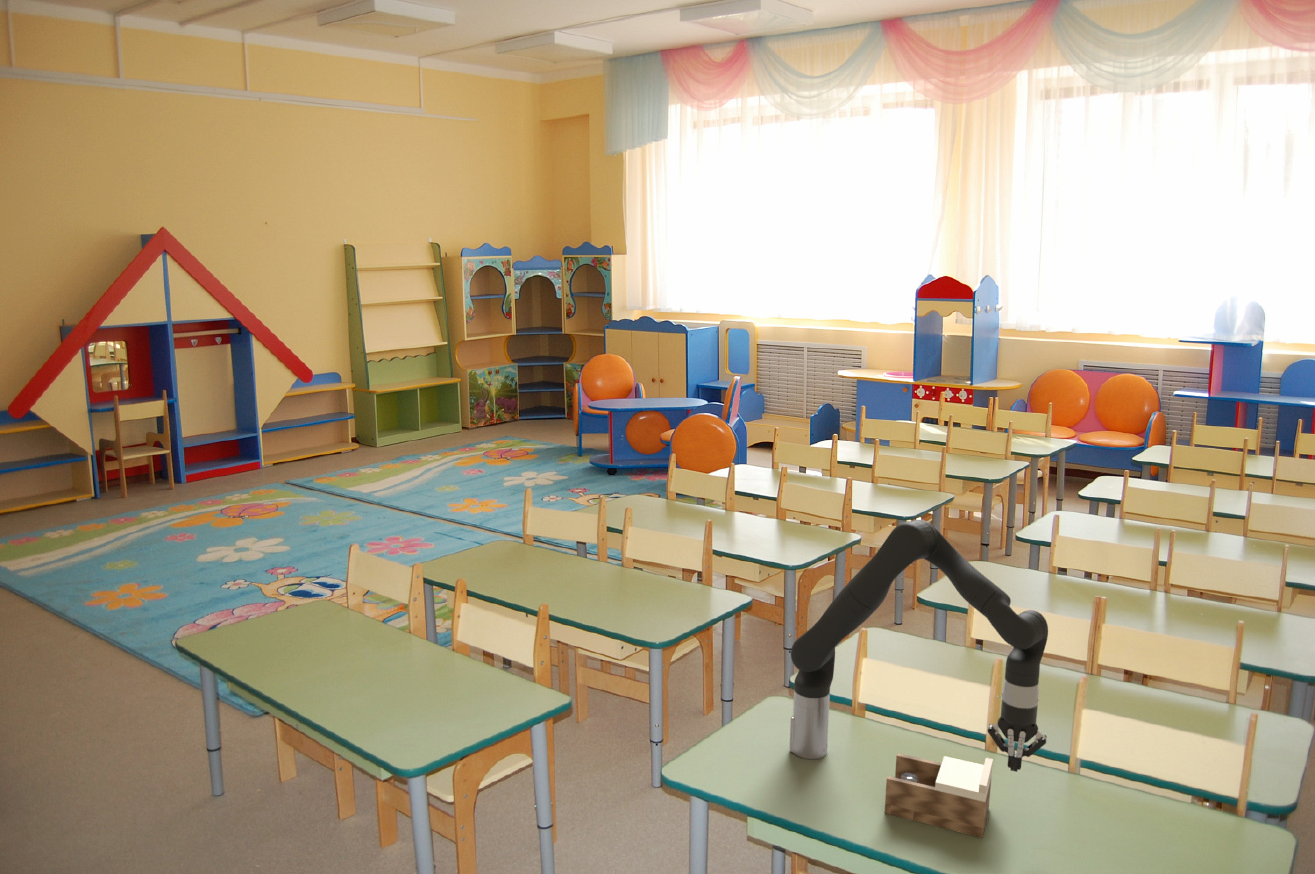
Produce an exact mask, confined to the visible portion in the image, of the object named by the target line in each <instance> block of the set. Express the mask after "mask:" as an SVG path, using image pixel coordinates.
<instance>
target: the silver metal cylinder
mask: <svg viewBox="0 0 1315 874" xmlns="http://www.w3.org/2000/svg"><path fill="white" fill-rule="evenodd" d="M901 779H903V780H907V781H911V782H915V783H918V777H917V776H916V775H915V774H912V773H904V774H902V775H901Z"/></svg>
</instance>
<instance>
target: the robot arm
mask: <svg viewBox="0 0 1315 874" xmlns="http://www.w3.org/2000/svg"><path fill="white" fill-rule="evenodd" d="M922 559H923V560H925V561H926V562H929V563H930V564H932V565H934V566H935V567H936V568H938V569H939V570H940V571H941V572H942V573H943V574H944V575H945V576H946V577H947V578H948V579H949V582H950V583H951V584H952V585H953V588H955V589H956V591H957V592H958V594H959V595H960V596H961V598H962V599H964V601H966V602H967V603H968V604H969V605H971V606H972V607H973V608H974V609H976V611H977V612H979V613H980V614H981V615H982V616H984V617H985V619H987V620H988V622H989V623H990V625H991V626H992V627H993V629H994V630H995V631H996V633H998V635H999V636H1000V638H1001V639H1003V640H1004V642H1006V644H1008V645H1010V646H1011V647H1013V649H1011V651H1010V653H1008V656H1007V657H1006V662H1005V669H1004V670H1005V673H1004V681H1003V685H1002V692H1001V707H1000V716H999V718H998V719H997V722H996V723H994V724H993V723H989V724H988V726H987V727H988V728H987V732H988V734H989V735H990V738H992V741H993V742H994V744H996V746H997V747H998V750H1000V751H1001V752H1005V753H1007V755H1008V756H1007V767H1008V768H1009V769H1010V771H1011V772H1014V773H1015V772H1017V773H1018V771H1019V770H1021V769H1022V762H1023V758H1024V757H1027V758H1029V757H1031V756H1032V755H1034V754H1035V753H1036V752H1037V751H1038V750H1040V749H1041V748H1042V747H1044V746H1045V745H1046V744H1047V738H1048V737H1047V735H1046V734H1042V732H1040V731H1039V726H1038V724H1037V720H1038V719H1037V718H1038V717H1037V716H1038V707H1039V697H1040V696H1039V695H1040V690H1039V689H1040V688H1039V683H1040V669H1041V668H1040V666H1041V662H1042V658H1043V656H1044V652H1045V648H1046V646H1047V641H1048V638H1049V626H1048V622H1047V620H1046V617H1044V615H1043V614H1042V613H1040V611H1037V610H1031V609H1028V610H1025V611H1022V612H1020V613H1019V614H1017V613H1016V612H1015V611H1014V610H1013V608H1012V607H1011V602H1012V601H1011V598H1010V596H1009V595H1008V594H1007V593H1006V592H1005V591H1004V590H1002V588H1000V587H999V586H997V585H996V584H995V583H994V582H992V581H991V580H990V579H989V578H988V577H987V576H985V575H984V574H983V573H981V571H979V570H978V569H976V567H974V566H973V565H972V564H971V563H970V562H968V560H966V558H965V557H963V555H962V554H961V553H960V552H958V550H957V549H955V547H954V546H953V545H952V544H951V543H950V542H949V541H948V540H947V539H946V538H945V537H944V535H943V534H942V533H941V532H940V531H939V530H938V528H936V527H935V526H934V525H933V524H932V523H931V522H929V521H927V520H923V519H914V520H909V521H904V522H902V523H899V524H898V525H896V526H895V527H894V528H893V529H892V531H891V532H890V534H888V536H887V538H886V539H885V540H884V542H883V544H882V545H880V547H879V549H878V550H877V552H876V553H875V554H874V555H873V556H872V558H871V559H870V560H869V561H868V562H866V564H865V565H864V566H863V567H862V568H861V569H860V570H858V572H857V573H856V574H855V575H854V576H853V577H851V579H850V581H849V582H848V583H847V584H846V585H845V586H844V587H843V588H842V589H841V590H840V592H839V593H838V594H837V595H836V597H835V598H834V599H833V600H832V602H831V603H830V604H829V606H828V607H827V608H826V610H825V611H824V612H823V614H822V615H821V616H820V618H819V619H818V620H817V622H816V623H815V624H814V625H812V627H811V628H809V629H808V630H807V631H806V632H804V633H803V634H802V635H800V636H799V637H798V638H797V639H796V640H795V641H794V642H793V644H792V646H791V651H790V658H791V661H792V664H793V666H794V667H795V668H797V670H798V672H797V674H796V675H795V679H794V682H793V683H794V685H793V712H792V716H791V717H790V724H789V725H790V728H789V752H790V753H793V754H794V755H796V756H797V757H799V758H803V759H805V760H818V759H822V758H824V757H825V756H827V754H828V742H829V740H828V739H829V722H830V721H829V718H830V715H829V714H830V696H831V695H830V694H831V693H830V692H831V686H832V683H833V680H834V672H835V663H836V662H835V661H836V647H837V646H838V644H840V642H842V640H844V639H845V638H846V637H847V636H849V635H850V634H851V633H853V632H854V631H855V630H856V629H858V628H859V627H860V626H861V625H862V624H863V623H865V621H867V619H869V618H870V617H871V616H872V615H873V613H874V612H876V611H877V610H878V608H879V607H880V606H881V604H882V603H883V602H884V601H885V599H886V598H887V595H888V593H889V591H890V588H891V586H892V584H893V582H894V581H895V580H896V578H897V577H898V576H899V575H900V574H901V573H903V572H904V570H906V569H907V568H908V567H909V566H910V565H912V564H913V563H914V562H917V561H919V560H922ZM1001 733H1002V734H1003V736H1004V737H1002V735H1001ZM1004 738H1005V739H1007V742H1006V740H1005V739H1004ZM1032 738H1034V741H1033V742H1031V743H1030V744H1029V745H1027V746H1026V747H1024V745H1025V744H1026V743H1029V741H1030V740H1032ZM1015 743H1017V748H1016V744H1015ZM1015 748H1016V749H1015Z"/></svg>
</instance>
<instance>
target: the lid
mask: <svg viewBox="0 0 1315 874" xmlns="http://www.w3.org/2000/svg"><path fill="white" fill-rule="evenodd" d="M941 763H942V764H941V767H940V770H939V773H938V776H937V779H936V783H935V790H937V791H941V792H945V793H949V794H953V795H957V796H962V797H966V798H970V799H974V800H978V801H982V802H985V801H986V797H987V793H988V789H989V784H990V780H991V781H992V777H991V776H992V775H993V766H994V765H993V764H994V759H993V758H989V757H985V760H984V763H983V764H981V763H977V762H972V761H968V760H964V759H960V758H959V759H958V758H953V757H951V756H950V757H949V756H946V755H943V758H942V761H941Z"/></svg>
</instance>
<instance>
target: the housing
mask: <svg viewBox="0 0 1315 874" xmlns="http://www.w3.org/2000/svg"><path fill="white" fill-rule="evenodd" d="M941 764H942V762H938V761H934V760H930V759H925V758H921V757H916V756H912V755H907V754H903V753H899V752H897V754H896V757H895V771H894V772H895V774H894V775H895V776H894V777H893V776H890V775H887V776H886V784H885V786H886V787H885V800H884V802H885V803H884V814H887V815H889V816H890V815H891V816H895V817H898V818H903V819H906V820H910V821H915V822H917V823H922V824H926V825H931V826H934V827H938V828H942V829H945V830H950V831H954V832H957V833H961V834H966V835H969V836H973V837H977V838H980V839H983V837H984V833H985V832H984V831H985V827H986V823H987V819H988V818H987V817H988V815H989V809H990V799H991V786H992V779H991V780H990V784H989V789H988V793H987V797H986V801H985V802H982V801H978V800H974V799H970V798H966V797H962V796H957V795H953V794H949V793H945V792H941V791H937V790H935V783H936V779H937V776H938V773H939V770H940V767H941ZM904 773H912V774H915V775H916V776H917V777H918V783H915V782H911V781H907V780H903V779H901V775H902V774H904ZM991 778H992V776H991Z"/></svg>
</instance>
